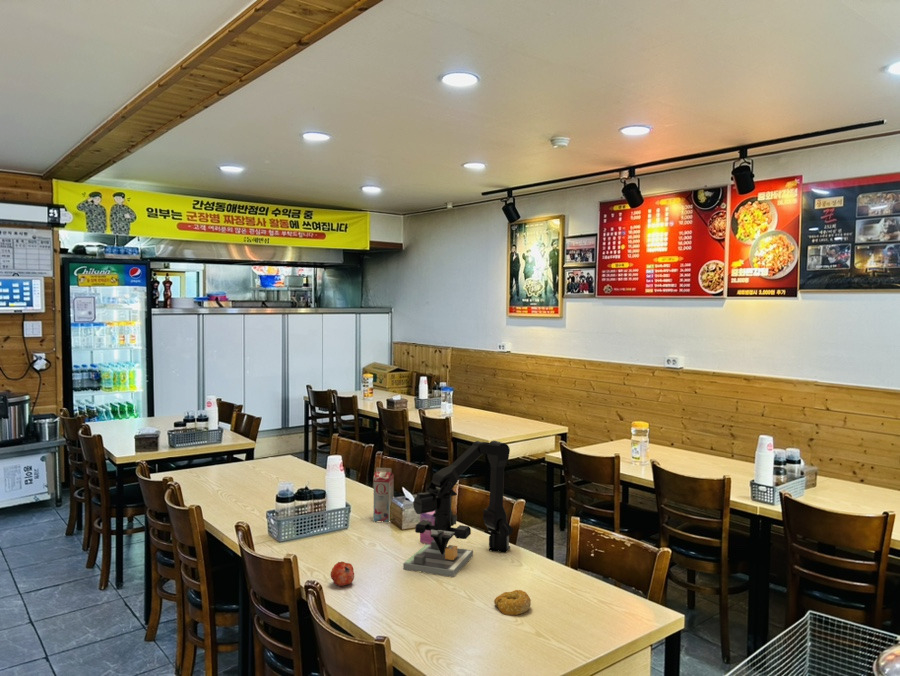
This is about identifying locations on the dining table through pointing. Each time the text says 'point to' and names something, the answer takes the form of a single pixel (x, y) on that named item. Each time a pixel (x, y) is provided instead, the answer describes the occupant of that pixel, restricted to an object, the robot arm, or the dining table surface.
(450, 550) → the handle
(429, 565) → the panel
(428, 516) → the box
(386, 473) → the juice carton
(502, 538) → the robot arm
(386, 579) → the dining table surface
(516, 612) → the bagel
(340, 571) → the pomegranate
